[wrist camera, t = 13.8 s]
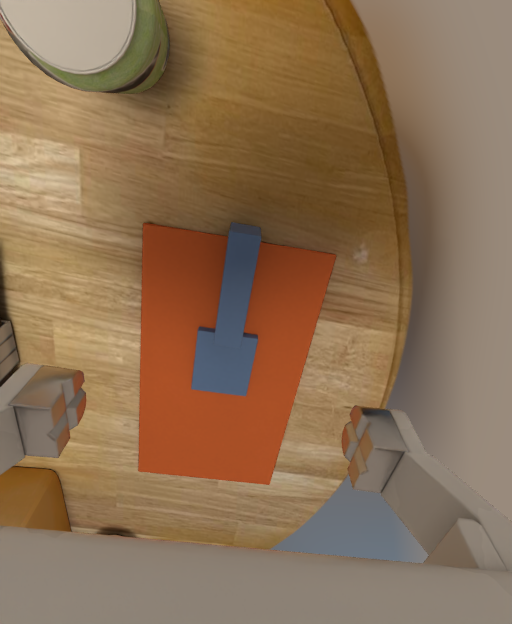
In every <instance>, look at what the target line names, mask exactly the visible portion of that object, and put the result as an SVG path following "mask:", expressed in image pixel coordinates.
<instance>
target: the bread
mask: <svg viewBox="0 0 512 624" xmlns="http://www.w3.org/2000/svg"><path fill="white" fill-rule="evenodd" d="M0 525H1V526H12V527H23V528H34V529H45V530H56V531H67V532H71V529H70V525H69V520H68V516H67V511H66V507H65V502H64V498H63V493H62V489H61V485H60V482H59V479H58V476H57V475H56V473H55V472H53V471H52V470H48V469H38V468H24V467H11V468H9V469H8V470H7V471H5V472H4V473H2V474H1V475H0Z"/></svg>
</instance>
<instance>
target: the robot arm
mask: <svg viewBox="0 0 512 624" xmlns="http://www.w3.org/2000/svg"><path fill="white" fill-rule="evenodd" d="M83 383H84V374H83V372H82V371H80V370H74V369H67V368H60V367H54V366H47V365H45V366H44V365H38V364H31V363H26V364H24V365H22V366H21V367H20V368H19V369H18V370H17V371H16V372H15V373H14V374H13V375H12V376H11V377H10V378H9V379H8V380H7V381H6V382H5V383H4V384H3V385H2V386H1V387H0V475H1V474H2V473H4V472H5V471H7V470H8V469H9V468H11V467H12V466H14V465H15V464H16V463H18V462H19V461H21V460H22V459H23V458H25V455H27V456H40V457H53V458H59V456H60V454H61V452H62V451H63V449H64V447H65V446H66V444H67V442H68V441H69V439H70V433H69V430H71V429H72V428H74V427H76V426H77V425H78V424H79V422H80V420H81V418H82V416H83V413H84V410H85V407H86V393H85V392H84V391H83V389H82V388H81V386H82V384H83ZM350 417H351V420H352V421H350V422H349V423H347V424H346V425H345V427H344V430H343V433H342V449H343V453H344V456H345V457H346V458H347V459H348V460H349V461H350V465H349V467H348V472H349V476H350V480H351V483H352V487H353V489H354V490H361V491H368V492H376V493H381V496H382V497H383V498H384V499H385V501H386V502H387V503H388V504H389V505H390V507H391V508H392V509H393V510H394V512H395V513H396V514H397V516H398V517H399V518H400V519H401V521H402V522H403V523H404V525H405V526H406V527H407V528H408V530H409V531H410V532H411V533H412V535H413V536H414V537H415V538H416V540H417V541H418V542H419V543H420V545H421V546H422V547H423V549H424V550H425V551H426V552H427V554H428V555H429V556H428V558H427V559H426V560H425V561H424V563H412V562H401V561H389V560H377V559H367V558H356V557H344V556H334V555H322V554H312V553H300V552H289V551H277V550H267V549H256V548H245V547H233V546H222V545H211V544H200V543H189V542H178V541H167V540H156V539H145V538H134V537H123V536H111V535H100V534H89V533H78V532H67V531H56V530H45V529H34V528H23V527H12V526H1V525H0V624H512V521H510V520H509V519H508V518H507V517H506V516H504V515H503V514H502V513H501V512H500V511H499V510H497V509H496V508H495V507H494V506H493V505H491V504H490V503H489V502H488V501H487V500H485V499H484V498H483V497H482V496H481V495H479V494H478V493H477V492H476V491H474V490H473V489H472V488H471V487H470V486H468V485H467V484H466V483H465V482H464V481H462V480H461V479H460V478H459V477H458V476H457V475H455V474H454V473H453V472H452V471H450V470H449V469H448V468H447V467H446V466H445V465H443V464H442V463H441V462H439V461H438V460H437V459H436V458H435V457H433V456H432V455H427V453H426V451H425V449H424V447H423V445H422V443H421V441H420V439H419V438H418V435H417V434H416V432H415V430H414V428H413V426H412V424H411V422H410V420H409V418H408V417H407V415H406V413H405V412H404V411H401V410H392V409H382V408H373V407H365V406H356V405H355V406H354V407H353V408H352V410H351V413H350Z"/></svg>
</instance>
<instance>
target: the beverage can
mask: <svg viewBox="0 0 512 624" xmlns="http://www.w3.org/2000/svg"><path fill="white" fill-rule="evenodd" d="M0 19H1V21H2V23H3V24H4V26H5V28H6V30H7V31H8V33H9V35H10V36H11V38H12V39H13V41H14V42H15V43H16V45H17V46H18V47H19V49H20V50H21V51H22V52H23V53H24V54H25V56H26V57H27V58H28V59H29V60H30V61H31V62H32V63H33V64H34V65H35V66H37V67H38V68H39V69H40V70H42V71H43V72H44V73H45V74H46V75H48V76H50V77H51V78H53V79H55V80H56V81H58V82H60V83H62V84H64V85H67V86H69V87H71V88H74V89H78V90H83V91H89V92H106V93H124V94H134V93H140V92H142V91H145V90H147V89H149V88H150V87H152V86H153V85H154V84H155V83H156V82H157V81H158V80H159V79H160V77H161V76H162V74H163V73H164V70H165V68H166V65H167V62H168V58H169V50H170V40H169V32H168V27H167V23H166V20H165V17H164V14H163V11H162V9H161V6H160V4H159V1H158V0H0Z"/></svg>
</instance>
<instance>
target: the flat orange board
mask: <svg viewBox="0 0 512 624" xmlns="http://www.w3.org/2000/svg"><path fill="white" fill-rule="evenodd" d="M227 242H228V237H227V236H221V235H215V234H209V233H203V232H197V231H191V230H185V229H179V228H173V227H167V226H161V225H155V224H149V223H143V249H142V304H141V359H140V414H139V469H138V471H140V472H150V473H160V474H169V475H179V476H189V477H199V478H208V479H218V480H228V481H237V482H247V483H257V484H266V485H269V484H270V480H271V477H272V474H273V470H274V467H275V463H276V460H277V457H278V453H279V450H280V446H281V443H282V440H283V436H284V433H285V429H286V426H287V422H288V419H289V416H290V412H291V409H292V405H293V402H294V399H295V395H296V392H297V388H298V385H299V382H300V378H301V375H302V371H303V368H304V364H305V361H306V358H307V354H308V351H309V347H310V344H311V341H312V337H313V334H314V330H315V327H316V323H317V320H318V317H319V313H320V310H321V306H322V303H323V300H324V296H325V293H326V289H327V286H328V283H329V279H330V276H331V272H332V269H333V265H334V262H335V259H336V255H335V254H330V253H324V252H318V251H312V250H306V249H300V248H294V247H288V246H281V245H275V244H269V243H263V242H260V248H259V253H258V258H257V264H256V269H255V274H254V280H253V285H252V290H251V296H250V301H249V306H248V312H247V317H246V322H245V328H244V333H248V334H254V335H258V343H257V348H256V352H255V357H254V362H253V366H252V371H251V376H250V381H249V385H248V390H247V395H246V396H239V395H231V394H224V393H216V392H208V391H200V390H193V389H191V385H192V376H193V367H194V359H195V350H196V341H197V332H198V328H199V327H207V328H213V329H215V327H216V320H217V313H218V306H219V299H220V292H221V285H222V278H223V271H224V264H225V256H226V249H227Z"/></svg>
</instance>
